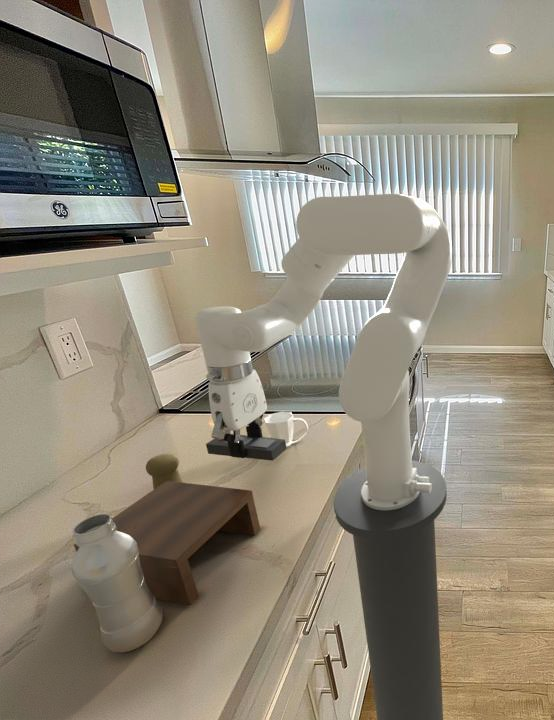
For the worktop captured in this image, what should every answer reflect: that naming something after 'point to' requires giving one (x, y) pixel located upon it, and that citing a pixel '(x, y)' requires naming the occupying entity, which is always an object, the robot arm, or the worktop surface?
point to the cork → (163, 469)
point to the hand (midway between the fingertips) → (247, 449)
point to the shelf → (182, 531)
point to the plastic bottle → (115, 584)
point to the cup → (283, 426)
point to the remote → (251, 447)
